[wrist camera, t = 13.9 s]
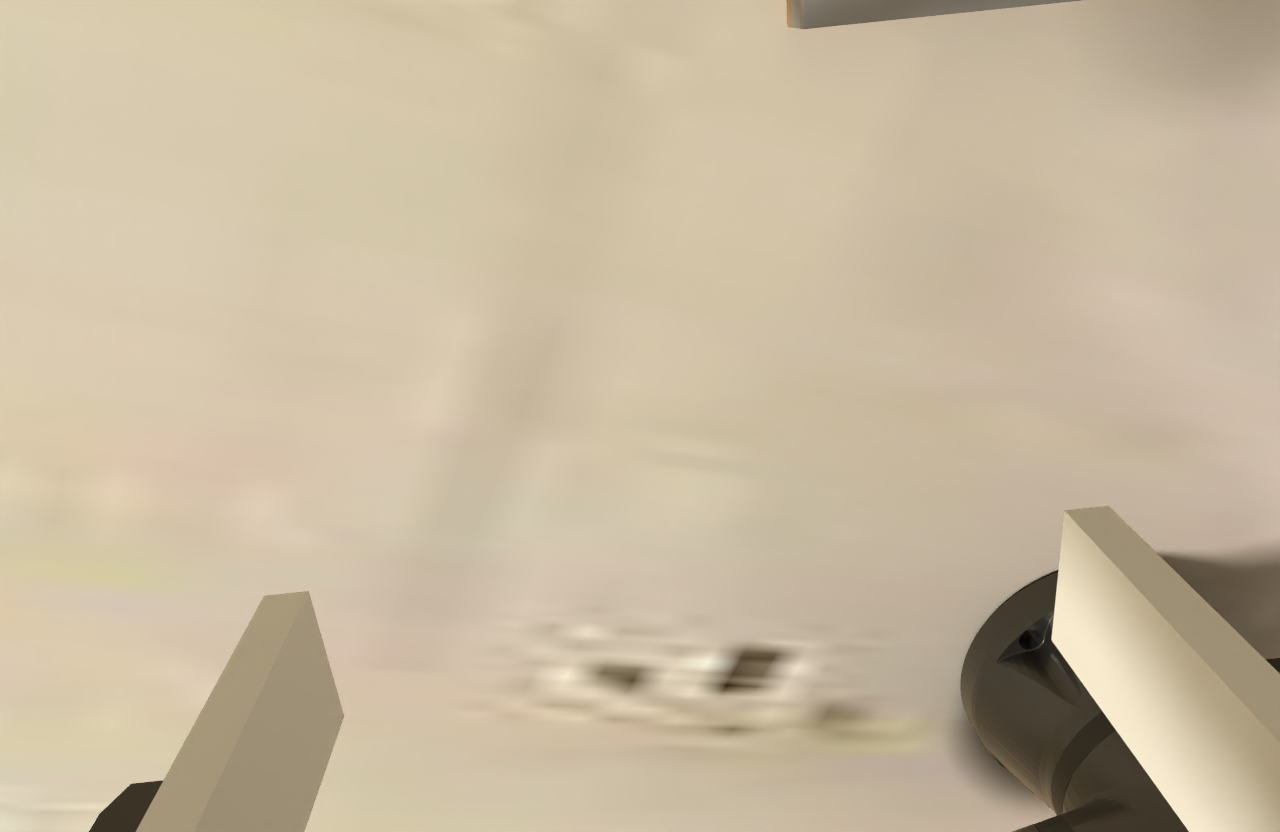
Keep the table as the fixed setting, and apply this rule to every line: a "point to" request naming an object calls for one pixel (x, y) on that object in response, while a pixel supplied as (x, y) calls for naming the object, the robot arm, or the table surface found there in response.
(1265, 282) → the table surface
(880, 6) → the brown piece
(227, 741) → the robot arm
